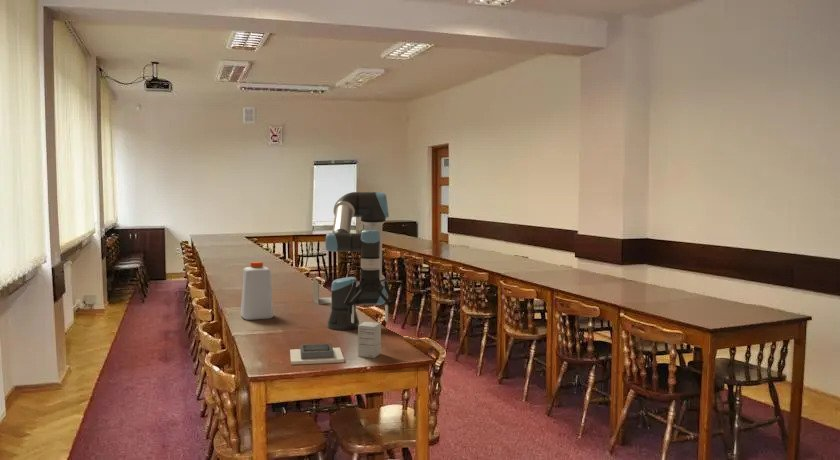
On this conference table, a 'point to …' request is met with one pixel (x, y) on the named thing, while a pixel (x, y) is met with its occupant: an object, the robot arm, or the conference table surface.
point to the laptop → (316, 294)
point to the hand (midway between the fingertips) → (369, 321)
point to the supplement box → (369, 339)
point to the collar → (316, 351)
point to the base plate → (297, 358)
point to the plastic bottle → (256, 292)
